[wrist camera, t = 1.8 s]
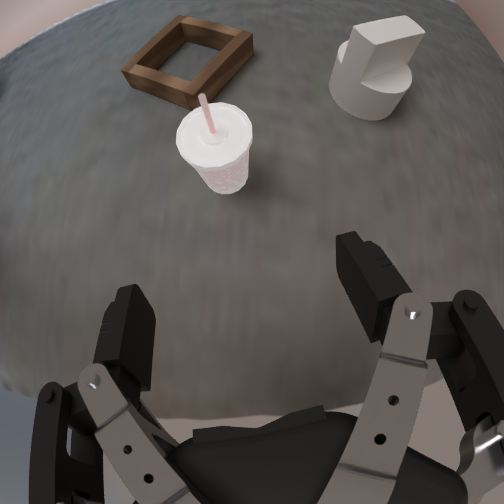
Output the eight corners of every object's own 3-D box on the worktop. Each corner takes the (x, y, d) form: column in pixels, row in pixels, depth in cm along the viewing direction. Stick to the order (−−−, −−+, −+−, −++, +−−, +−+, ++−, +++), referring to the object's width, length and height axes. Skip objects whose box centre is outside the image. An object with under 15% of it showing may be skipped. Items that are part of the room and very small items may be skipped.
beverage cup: (266, 164, 30) (268, 82, 17) (235, 212, 30) (213, 152, 16) (218, 139, 31) (193, 54, 17) (187, 184, 31) (138, 115, 17)
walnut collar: (131, 87, 33) (120, 70, 29) (184, 33, 34) (178, 15, 30) (200, 114, 32) (193, 95, 28) (253, 53, 33) (252, 33, 29)
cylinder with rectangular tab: (360, 131, 31) (397, 68, 19) (314, 79, 32) (329, 10, 20) (407, 107, 31) (447, 51, 19) (363, 60, 32) (387, 0, 20)
